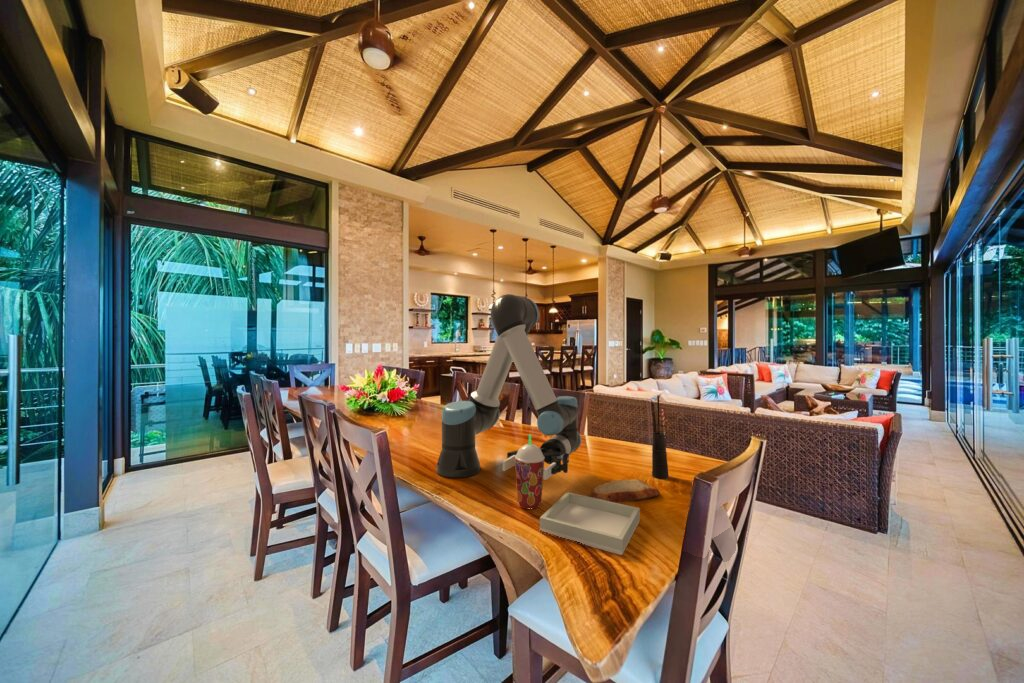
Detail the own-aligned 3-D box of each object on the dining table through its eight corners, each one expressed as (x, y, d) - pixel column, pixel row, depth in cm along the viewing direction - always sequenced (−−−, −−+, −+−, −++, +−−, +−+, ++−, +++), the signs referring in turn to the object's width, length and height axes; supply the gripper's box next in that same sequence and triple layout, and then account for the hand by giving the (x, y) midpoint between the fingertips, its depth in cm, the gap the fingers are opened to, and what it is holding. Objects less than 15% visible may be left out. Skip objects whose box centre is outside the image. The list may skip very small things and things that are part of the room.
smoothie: (546, 500, 115) (546, 431, 115) (541, 513, 107) (542, 439, 106) (517, 497, 117) (518, 430, 116) (511, 509, 109) (512, 437, 108)
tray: (539, 531, 97) (539, 517, 97) (567, 504, 113) (567, 492, 113) (621, 555, 87) (622, 539, 87) (639, 521, 103) (639, 508, 103)
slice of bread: (586, 500, 116) (587, 487, 116) (604, 480, 132) (604, 469, 132) (650, 515, 107) (650, 501, 107) (661, 491, 123) (661, 479, 123)
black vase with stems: (654, 468, 143) (655, 391, 142) (680, 476, 136) (681, 394, 135) (640, 474, 137) (642, 393, 136) (667, 482, 130) (668, 397, 129)
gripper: (591, 468, 121) (564, 493, 103) (521, 455, 133) (486, 475, 115) (592, 444, 121) (565, 464, 102) (521, 433, 133) (486, 449, 114)
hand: (523, 470), depth 109 cm, fingers open, 12 cm apart
